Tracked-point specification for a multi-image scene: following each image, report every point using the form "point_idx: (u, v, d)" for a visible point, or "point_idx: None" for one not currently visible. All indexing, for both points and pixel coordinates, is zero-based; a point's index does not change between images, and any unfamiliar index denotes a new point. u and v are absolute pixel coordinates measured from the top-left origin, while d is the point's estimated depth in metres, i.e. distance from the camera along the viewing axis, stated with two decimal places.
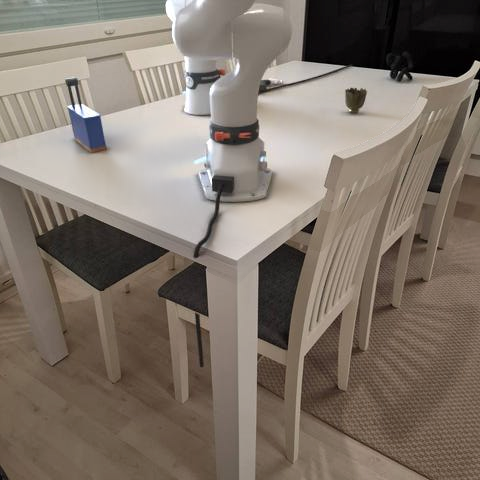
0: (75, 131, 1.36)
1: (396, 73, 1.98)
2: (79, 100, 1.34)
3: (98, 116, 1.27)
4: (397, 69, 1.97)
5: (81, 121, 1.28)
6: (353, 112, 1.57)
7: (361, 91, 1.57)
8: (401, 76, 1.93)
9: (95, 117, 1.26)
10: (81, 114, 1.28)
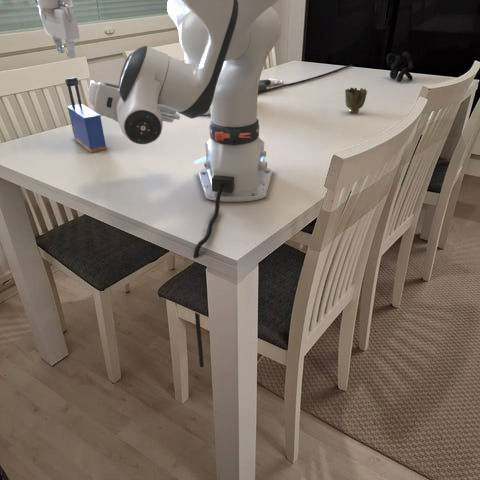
0: (75, 131, 1.36)
1: (396, 73, 1.98)
2: (79, 100, 1.34)
3: (98, 116, 1.27)
4: (397, 69, 1.97)
5: (81, 121, 1.28)
6: (353, 112, 1.57)
7: (361, 91, 1.57)
8: (401, 76, 1.93)
9: (95, 117, 1.26)
10: (81, 114, 1.28)
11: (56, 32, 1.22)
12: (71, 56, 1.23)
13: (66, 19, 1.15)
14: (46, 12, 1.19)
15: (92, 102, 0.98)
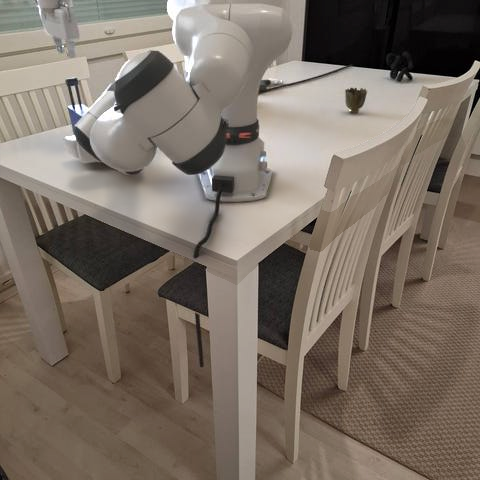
0: None
1: (396, 73, 1.98)
2: (79, 100, 1.34)
3: None
4: (397, 69, 1.97)
5: None
6: (353, 112, 1.57)
7: (361, 91, 1.57)
8: (401, 76, 1.93)
9: None
10: (81, 114, 1.28)
11: (56, 32, 1.22)
12: (71, 56, 1.23)
13: (66, 19, 1.15)
14: (46, 12, 1.19)
15: (76, 156, 1.18)
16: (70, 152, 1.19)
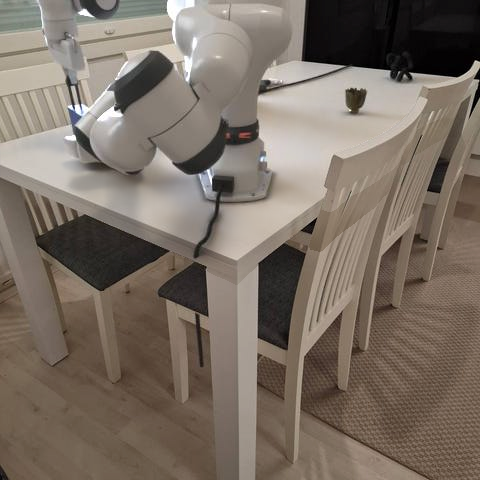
0: None
1: (396, 73, 1.98)
2: (79, 100, 1.34)
3: None
4: (397, 69, 1.97)
5: None
6: (353, 112, 1.57)
7: (361, 91, 1.57)
8: (401, 76, 1.93)
9: None
10: (81, 114, 1.28)
11: (62, 61, 1.26)
12: (73, 82, 1.29)
13: (72, 50, 1.19)
14: (53, 43, 1.23)
15: (76, 156, 1.18)
16: (70, 152, 1.19)
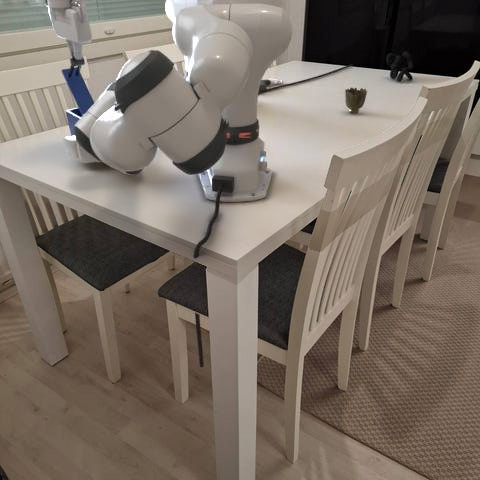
0: (73, 132, 1.36)
1: (396, 73, 1.98)
2: (78, 72, 1.24)
3: None
4: (397, 69, 1.97)
5: None
6: (353, 112, 1.57)
7: (361, 91, 1.57)
8: (401, 76, 1.93)
9: None
10: (80, 105, 1.25)
11: (66, 34, 1.14)
12: (78, 58, 1.17)
13: (78, 19, 1.07)
14: (56, 12, 1.11)
15: (76, 156, 1.18)
16: (70, 152, 1.19)
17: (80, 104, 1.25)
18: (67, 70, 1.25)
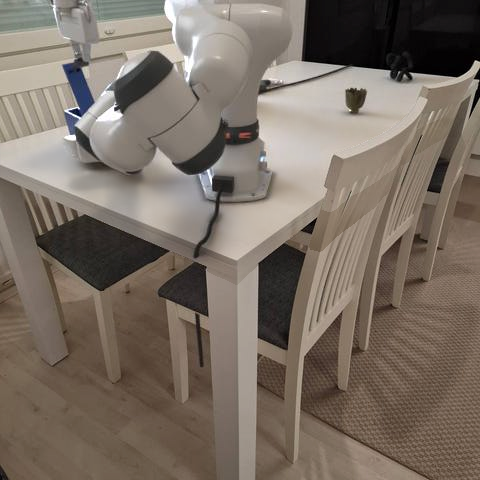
0: (72, 132, 1.36)
1: (396, 73, 1.98)
2: (79, 69, 1.22)
3: None
4: (397, 69, 1.97)
5: None
6: (353, 112, 1.57)
7: (361, 91, 1.57)
8: (401, 76, 1.93)
9: None
10: (81, 105, 1.24)
11: (73, 34, 1.10)
12: (86, 60, 1.12)
13: (85, 19, 1.03)
14: (62, 12, 1.07)
15: (75, 155, 1.19)
16: (70, 152, 1.19)
17: (80, 103, 1.24)
18: (68, 65, 1.22)
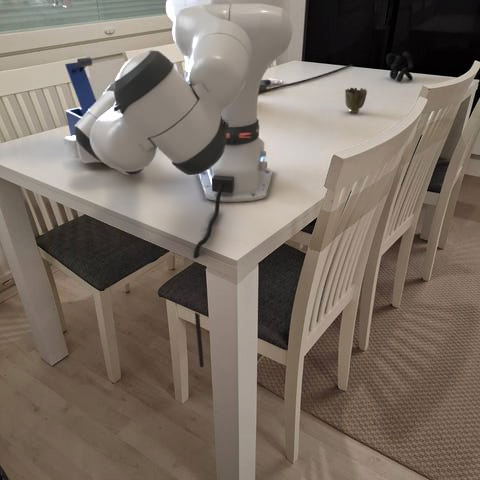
0: (73, 132, 1.36)
1: (396, 73, 1.98)
2: (82, 69, 1.22)
3: None
4: (397, 69, 1.97)
5: None
6: (353, 112, 1.57)
7: (361, 91, 1.57)
8: (401, 76, 1.93)
9: None
10: (83, 104, 1.24)
11: None
12: (67, 5, 1.12)
13: None
14: None
15: (76, 156, 1.19)
16: (70, 152, 1.19)
17: (82, 102, 1.24)
18: (71, 65, 1.22)
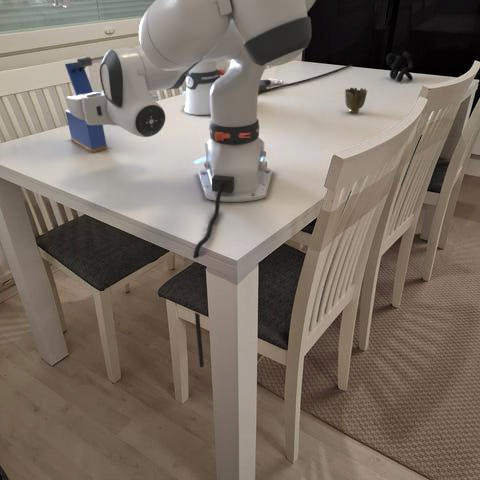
0: (73, 132, 1.36)
1: (396, 73, 1.98)
2: (82, 69, 1.22)
3: None
4: (397, 69, 1.97)
5: (81, 121, 1.28)
6: (353, 112, 1.57)
7: (361, 91, 1.57)
8: (401, 76, 1.93)
9: None
10: None
11: None
12: (67, 5, 1.12)
13: None
14: None
15: (81, 117, 1.03)
16: (74, 113, 1.04)
17: None
18: (71, 65, 1.22)
